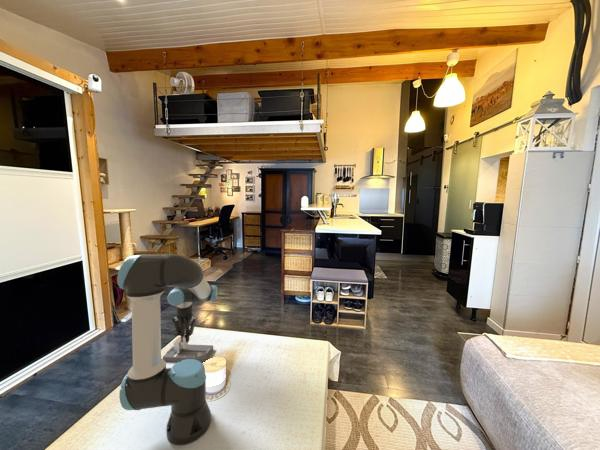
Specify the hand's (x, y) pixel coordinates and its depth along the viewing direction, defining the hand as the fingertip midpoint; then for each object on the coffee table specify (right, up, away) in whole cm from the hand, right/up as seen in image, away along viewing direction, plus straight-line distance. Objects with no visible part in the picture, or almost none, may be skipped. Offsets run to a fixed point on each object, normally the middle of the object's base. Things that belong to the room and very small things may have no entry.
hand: (185, 347), depth 132 cm
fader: (-4, -2, 0) cm, 4 cm away
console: (+2, -5, 0) cm, 5 cm away
